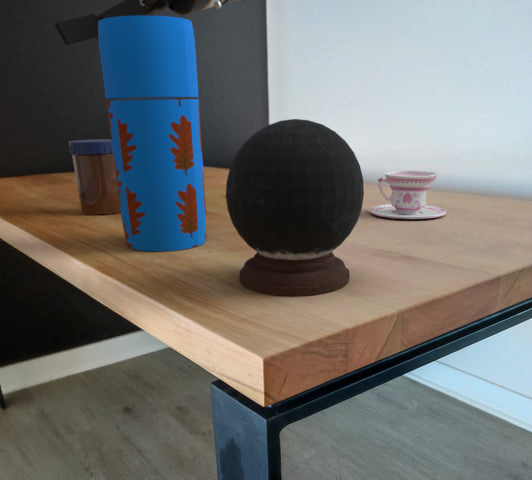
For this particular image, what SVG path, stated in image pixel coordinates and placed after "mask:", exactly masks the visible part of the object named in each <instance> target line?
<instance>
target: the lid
mask: <svg viewBox="0 0 532 480" xmlns="http://www.w3.org/2000/svg"><path fill="white" fill-rule="evenodd" d="M68 149H69V153H70V154H72V155H73V154H104V153H113V149H112V141H111V138H108V139H106V138H104V139H101V138H100V139H98V138H97V139H80V140H79V139H77V140H69V141H68Z"/></svg>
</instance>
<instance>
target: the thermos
mask: <svg viewBox="0 0 532 480" xmlns="http://www.w3.org/2000/svg"><path fill="white" fill-rule="evenodd" d="M98 41H99V43H98V48H99V55H100V64H101V71H102V77H103V78H102V79H103V86H104V95H105V99H106V109H107V118H108V124H109V131H110V133H109V134H110V139H111V141H112V149H113V157H114V165H115V172H116V180H117V188H118V196H119V203H120V211H121V213H120V217H121V222H122V223H121V224H122V229H123V233H124V237H125V238H124V239H125V244H126V246H127V248H130V249H131V250H135V251H140V252H141V251H142V252H172V251H173V252H174V251H175V252H176V251H181V250H187V249H188V248H189V249H192V248H196V247H199V246H202V245H203V244H205V243H206V241H207V208H206V207H207V206H206V192H205V191H206V190H205V177H204V162H203V159H204V158H203V147H202V145H203V144H202V130H201V116H200V115H201V114H200V113H201V112H200V100H199V99H196V98H199V84H198V82H199V81H198V67H197V52H196V51H197V50H196V39H195V32H194V27H193V22H192V21H191V20H190V19H187V18H183V17H175V16H170V15H169V16H166V15H154V16H142V15H135V16H118V17H110V18H105V19H101V20H99V22H98ZM98 41H97V42H98ZM193 98H195V99H193Z"/></svg>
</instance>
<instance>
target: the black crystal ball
mask: <svg viewBox="0 0 532 480" xmlns="http://www.w3.org/2000/svg"><path fill="white" fill-rule="evenodd" d="M225 185H226V186H225V200H226V207H227V212H228V214H229V217H230V220H231V223H232V225H233V227H234V228H235V230H236V231H237V234H238V236H240V238H241V239H242V240H243V241H244V243H246V244H247V245H248V247H249V248H251V249H252V250H254V251H255V252H256V253H255V254H254V255H253V256H252V257H250V258H249V259H247V260H246V261H245V262H244V264H243V267H242V268H241V269H240V270H239V274H238V275H239V283H240V285H241V286H243V287H244V288H245V289H248V290H250V291H253V292H256V293H260V294H266V295H270V296H281V297H282V296H283V297H284V296H285V297H306V296H317V295H322V294H327V293H331V292H336V291H338V290H341V289H342V288H344V287H346V286H347V285H348V284H349V283H350V270H349V268H348V267H346V263H345V262H344V261H343V259H341V258H339V257H338V256H336V255H335V254H334V253H333V251H334V250H336V249H337V248H338V247H340V246H341V245H342V244H343V243H344V242H345V241H346V240H347V239H348V237H349V236H350V235H351V233H352V232H353V230H354V228H355V226H356V225H357V223H358V221H359V217H360V215H361V212H362V210H363V203H364V195H365V189H364V177H363V173H362V167H361V165H360V162H359V160H358V158H357V156H356V154H355V152H354V151H353V149H352V148H351V146H350V145H349V143H348V142H347V141H346V140H345V139H344V138H343V137H342V136H341V135H340V134H338V132H337V131H335V130H333V129H331V128H330V127H328V126H326V125H324V124H323V123H319V122H316V121H314V120H313V121H312V120H309V119H302V118H301V119H300V118H292V119H283V120H279V121H276V122H273V123H269V124H267V125H266V126H264V127H262V128H260V129H259V130H257V131H255V132H254V133H253V134H252V135H251V136H250V137H249V138H248V139H246V140H245V141H244V143H243V144H242V145H241V147H240V148H239V149H238V151H237V152H236V153H235V156H234V158H233V160H232V162H231V164H230V167H229V169H228V174H227V178H226V184H225Z"/></svg>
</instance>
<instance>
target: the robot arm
mask: <svg viewBox="0 0 532 480" xmlns="http://www.w3.org/2000/svg"><path fill="white" fill-rule="evenodd" d="M238 1H239V2H240V1H244V0H122V1H120V2H119V3H117V4H115V5H114V6H111V7H110V8H108V9H107V10H104V11H103V12H101V13H99V14H97V15H95V13H92V14H87V15H83V16H78V17H74V18H70V19H66V20H65V19H64V20H61V21H57V22H56V23H55V24H54V27H55V28H56V30H57V32H58V34H59V36H60V37H61V39H62V41H63V42H64V44H65V46H69V45H73V44H77V43H80V42H83V41H84V42H85V41H87V40H91V39H95V40H96V41H97V44H99V41H98V22H99V20H101V19H105V18H110V17H118V16H135V15H142V16H155V15H154V14H155V13H157V12H163V11H164V10H166V9H169V10H170V11H172V12H173V13H174V14H177V15H180V16H186V15H190V14H193V13H197V12H200V11H202V10H203V11H204V10H206V9H211V8H214V7H215V9H216V10H220V9H221V8H222V5H225V4H226V5H227V4H230V3H234V2H238Z"/></svg>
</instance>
